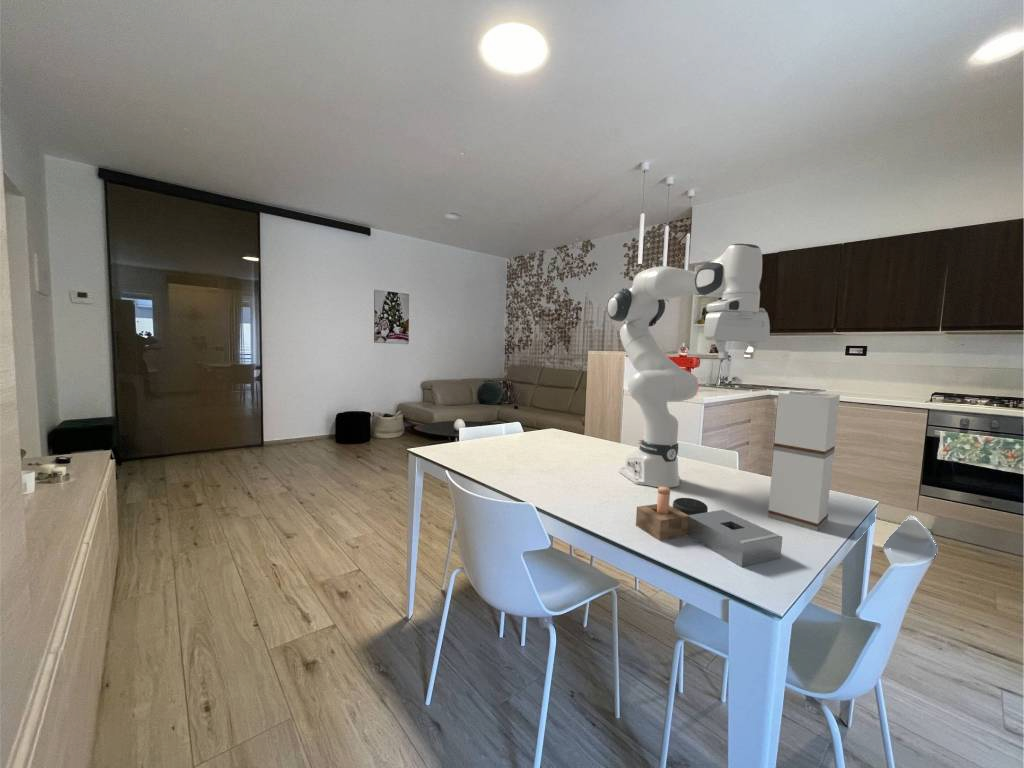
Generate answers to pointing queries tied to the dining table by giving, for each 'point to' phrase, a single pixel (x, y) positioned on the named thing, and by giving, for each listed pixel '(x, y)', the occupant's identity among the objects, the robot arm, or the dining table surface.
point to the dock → (734, 537)
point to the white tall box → (803, 458)
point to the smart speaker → (690, 506)
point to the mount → (662, 522)
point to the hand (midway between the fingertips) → (735, 358)
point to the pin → (663, 500)
